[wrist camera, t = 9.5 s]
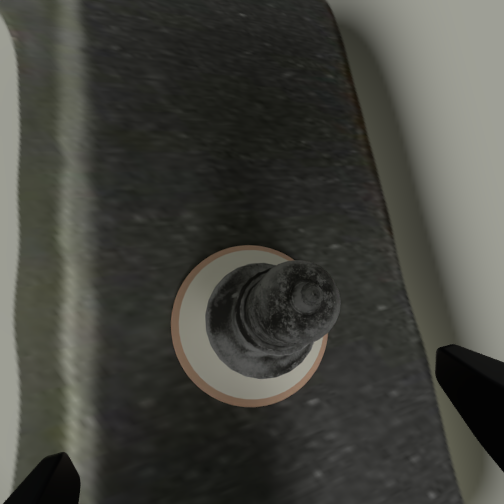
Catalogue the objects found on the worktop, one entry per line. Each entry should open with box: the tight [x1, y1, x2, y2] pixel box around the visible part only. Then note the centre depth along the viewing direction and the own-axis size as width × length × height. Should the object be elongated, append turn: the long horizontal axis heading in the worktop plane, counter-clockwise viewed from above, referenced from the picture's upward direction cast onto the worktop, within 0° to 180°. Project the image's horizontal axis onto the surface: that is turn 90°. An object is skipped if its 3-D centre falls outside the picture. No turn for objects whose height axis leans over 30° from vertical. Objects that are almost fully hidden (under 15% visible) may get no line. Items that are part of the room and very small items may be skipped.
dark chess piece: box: [205, 260, 341, 379], centre depth 15 cm, size 6×6×12 cm
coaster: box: [171, 245, 328, 407], centre depth 21 cm, size 10×10×1 cm
